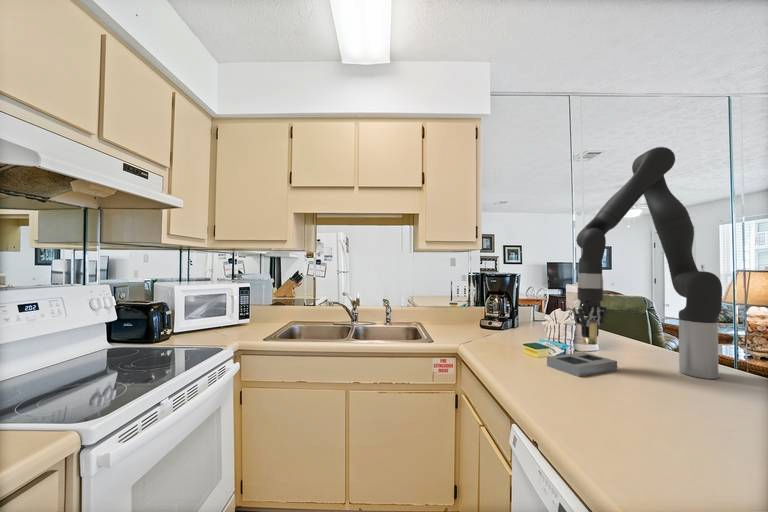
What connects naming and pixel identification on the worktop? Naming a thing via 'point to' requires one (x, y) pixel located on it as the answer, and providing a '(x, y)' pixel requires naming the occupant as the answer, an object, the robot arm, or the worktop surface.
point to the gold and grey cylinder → (591, 333)
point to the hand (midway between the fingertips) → (590, 336)
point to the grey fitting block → (582, 364)
